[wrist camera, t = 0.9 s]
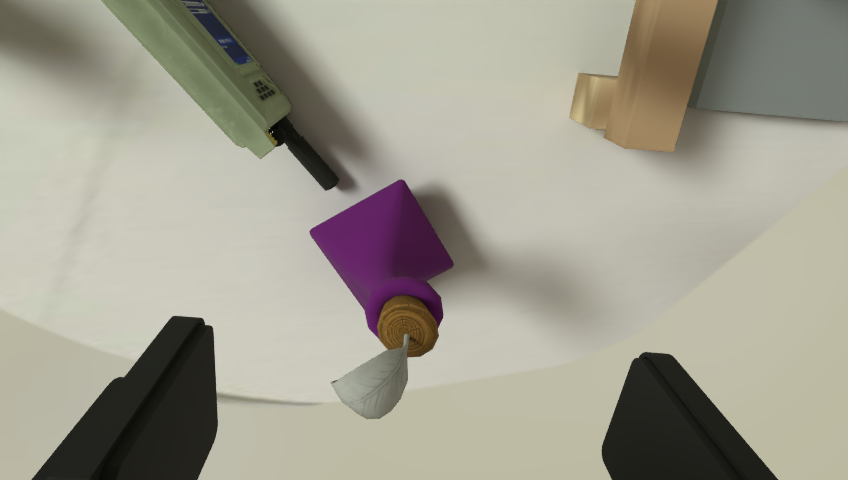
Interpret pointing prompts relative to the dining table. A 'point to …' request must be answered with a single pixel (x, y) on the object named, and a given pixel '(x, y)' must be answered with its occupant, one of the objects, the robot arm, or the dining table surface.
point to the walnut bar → (658, 72)
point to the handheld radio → (219, 76)
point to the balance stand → (776, 59)
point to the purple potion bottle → (386, 289)
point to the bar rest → (593, 100)
